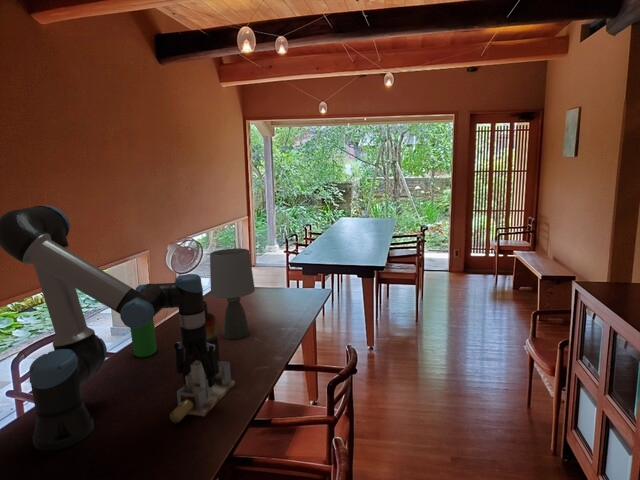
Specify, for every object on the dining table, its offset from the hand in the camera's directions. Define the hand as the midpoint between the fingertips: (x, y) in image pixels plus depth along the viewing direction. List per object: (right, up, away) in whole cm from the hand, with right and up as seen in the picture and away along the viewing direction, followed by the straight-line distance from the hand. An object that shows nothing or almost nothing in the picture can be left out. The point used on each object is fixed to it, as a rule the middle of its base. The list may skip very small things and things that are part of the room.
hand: (200, 394), depth 143 cm
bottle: (-33, +3, +41) cm, 52 cm away
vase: (-4, +1, +22) cm, 22 cm away
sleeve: (-1, -3, -4) cm, 5 cm away
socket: (+3, 0, +11) cm, 12 cm away
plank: (+1, -2, +4) cm, 5 cm away
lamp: (+1, +7, +56) cm, 57 cm away
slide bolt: (-1, -2, -4) cm, 5 cm away
